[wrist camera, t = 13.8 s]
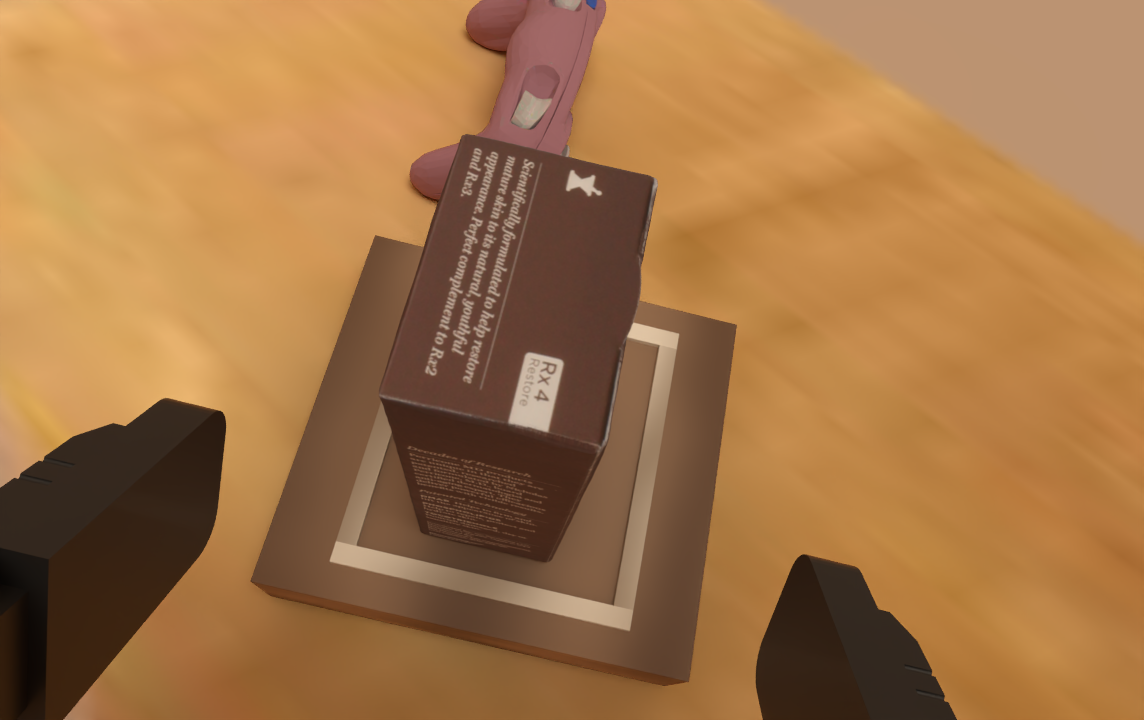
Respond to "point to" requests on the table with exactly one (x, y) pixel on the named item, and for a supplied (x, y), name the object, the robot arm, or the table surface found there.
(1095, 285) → the table surface
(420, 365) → the box
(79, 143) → the table surface
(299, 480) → the base board
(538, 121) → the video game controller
